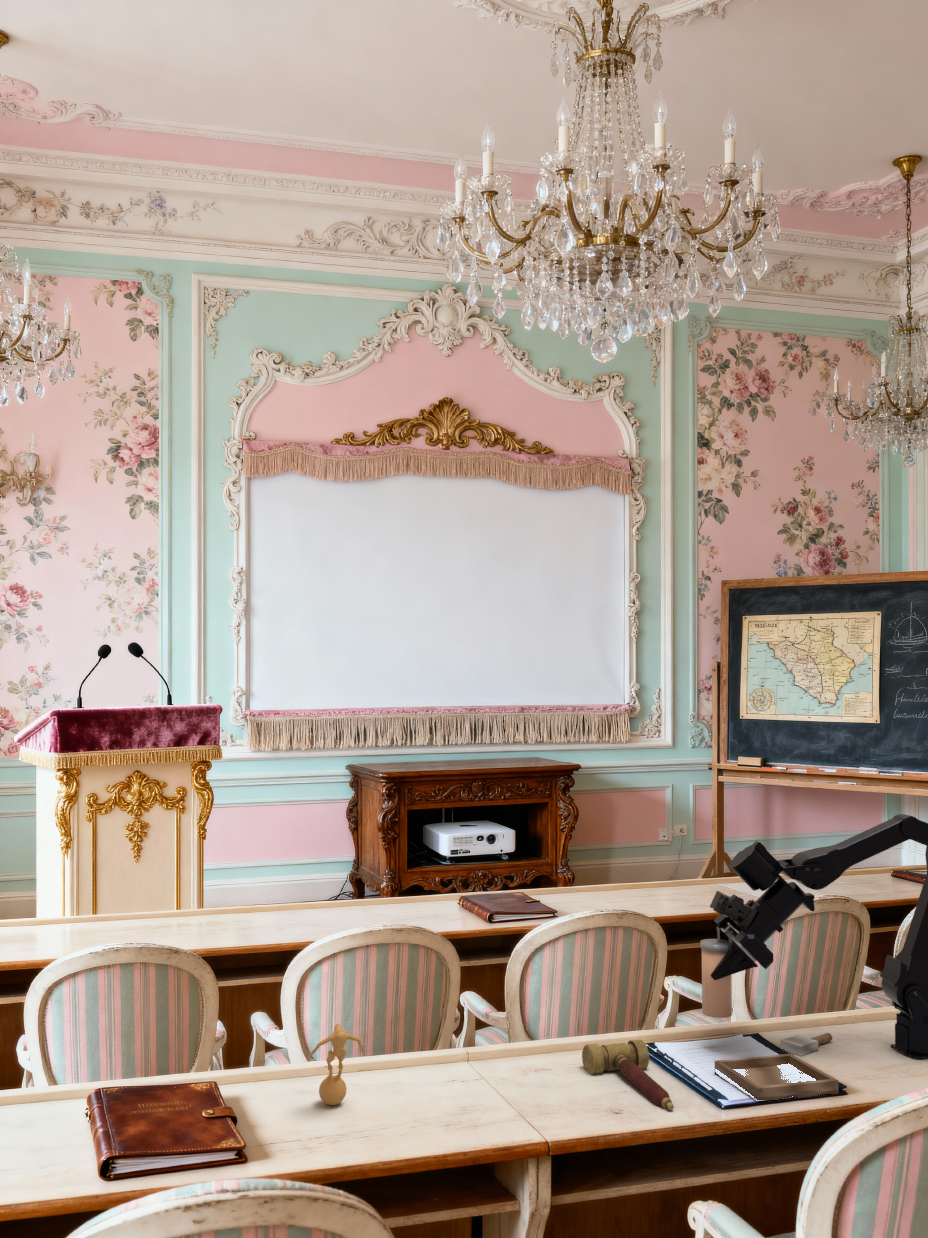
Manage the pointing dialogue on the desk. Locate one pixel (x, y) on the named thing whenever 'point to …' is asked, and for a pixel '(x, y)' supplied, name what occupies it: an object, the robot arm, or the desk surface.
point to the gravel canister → (715, 991)
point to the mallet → (804, 1043)
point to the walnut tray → (776, 1077)
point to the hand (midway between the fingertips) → (708, 974)
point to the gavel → (626, 1067)
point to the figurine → (334, 1086)
